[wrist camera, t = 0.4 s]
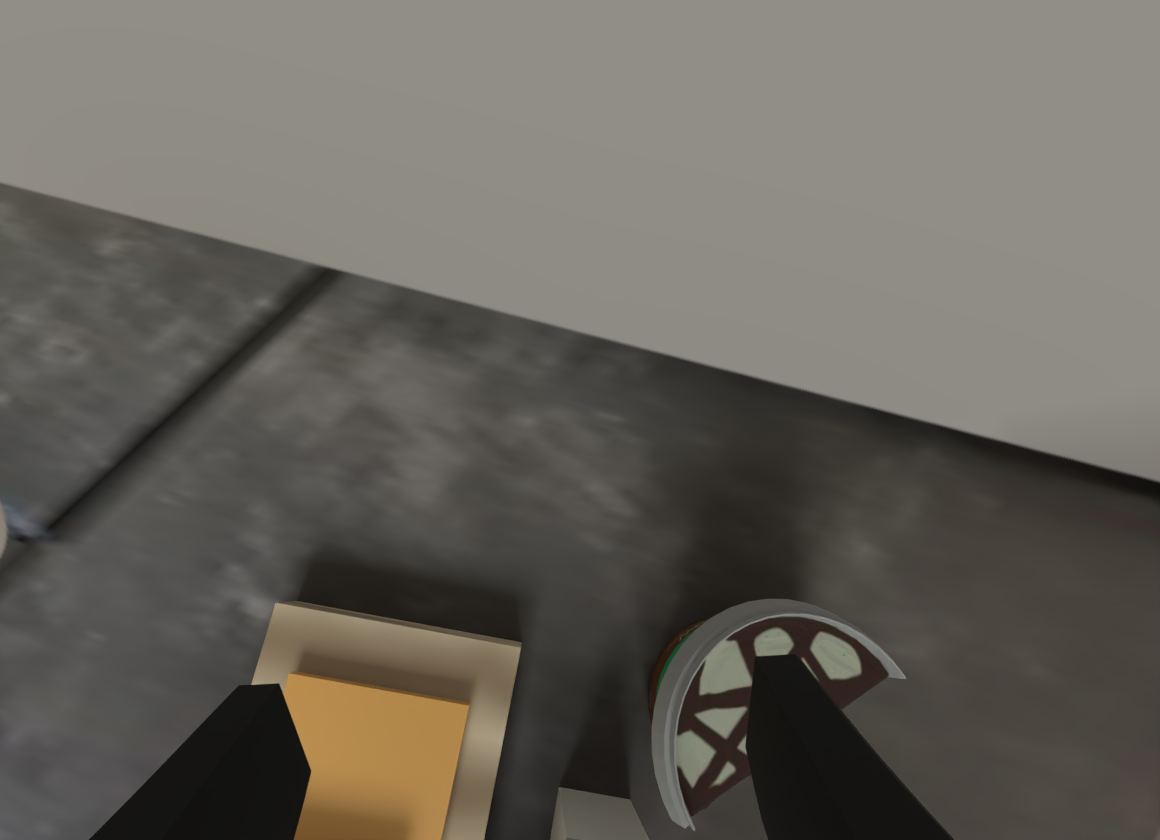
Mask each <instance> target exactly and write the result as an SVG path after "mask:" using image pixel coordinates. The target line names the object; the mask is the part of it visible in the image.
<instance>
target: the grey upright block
mask: <svg viewBox="0 0 1160 840" xmlns="http://www.w3.org/2000/svg"><path fill="white" fill-rule="evenodd" d="M550 840H649V838H648V836H647V834H646V832H645V830H644V828H643V826H642V823H641V821H640V819H639V817H638V815H637V813H636V811H635V809H634V806H633V804H632V802H631V800H630V799H625V798H619V797H613V796H608V795H602V794H596V793H591V792H585V791H579V790H573V789H568V788H562V787H559V789H558V795H557V800H556V806H555V812H554V818H553V824H552V830H551V836H550Z"/></svg>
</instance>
